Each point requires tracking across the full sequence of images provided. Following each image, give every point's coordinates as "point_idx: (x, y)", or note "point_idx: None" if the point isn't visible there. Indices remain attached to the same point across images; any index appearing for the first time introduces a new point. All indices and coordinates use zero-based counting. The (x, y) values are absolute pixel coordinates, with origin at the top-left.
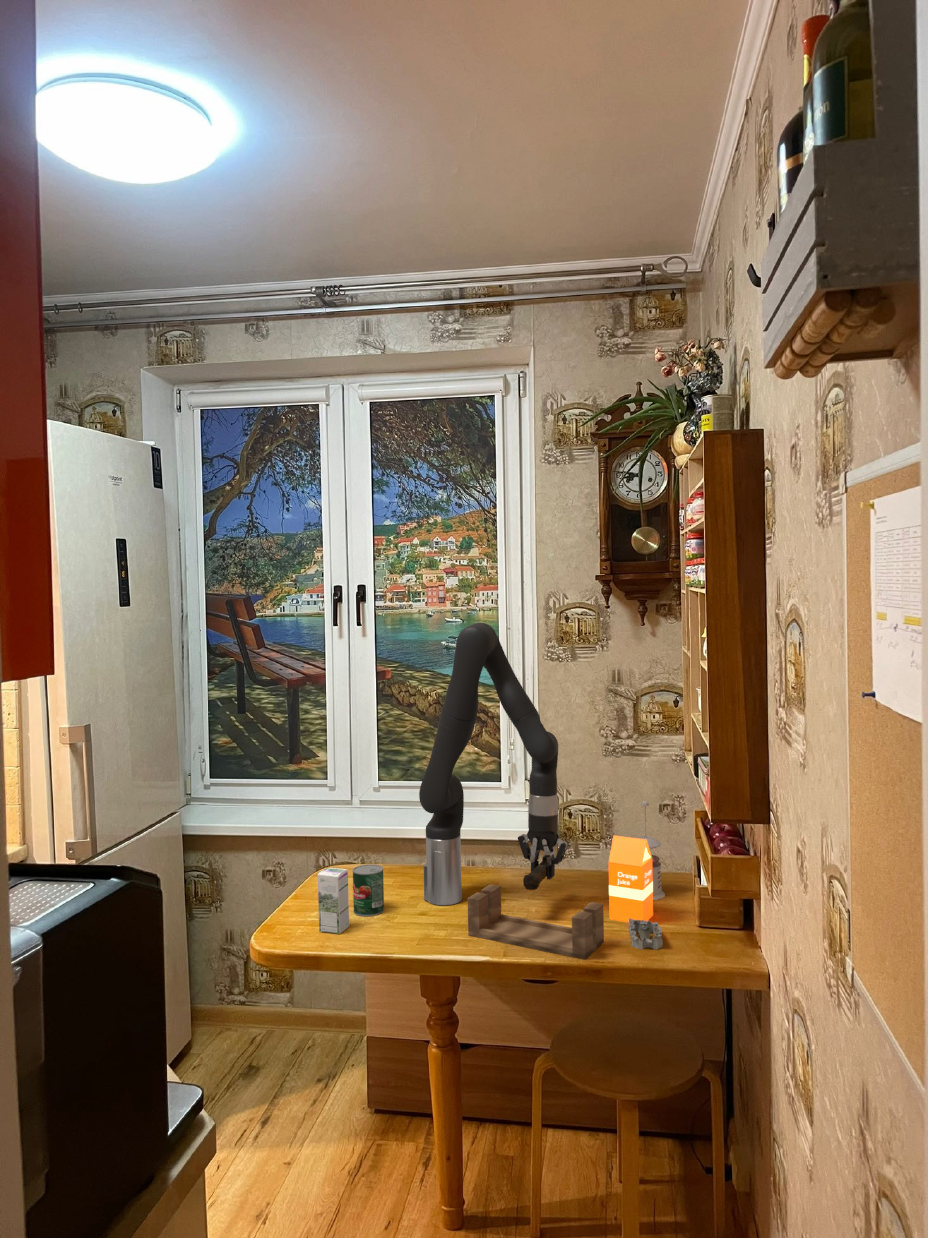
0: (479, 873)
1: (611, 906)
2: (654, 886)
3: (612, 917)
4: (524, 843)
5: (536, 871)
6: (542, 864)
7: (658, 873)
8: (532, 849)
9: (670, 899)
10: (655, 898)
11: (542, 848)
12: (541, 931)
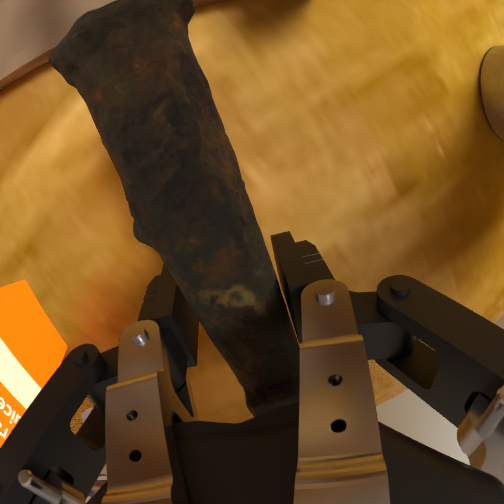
0: (498, 295)
1: (2, 304)
2: None
3: (15, 285)
4: (486, 388)
5: (137, 139)
6: (241, 324)
7: None
8: (353, 378)
9: (71, 424)
10: (82, 417)
11: (215, 450)
12: (56, 8)
